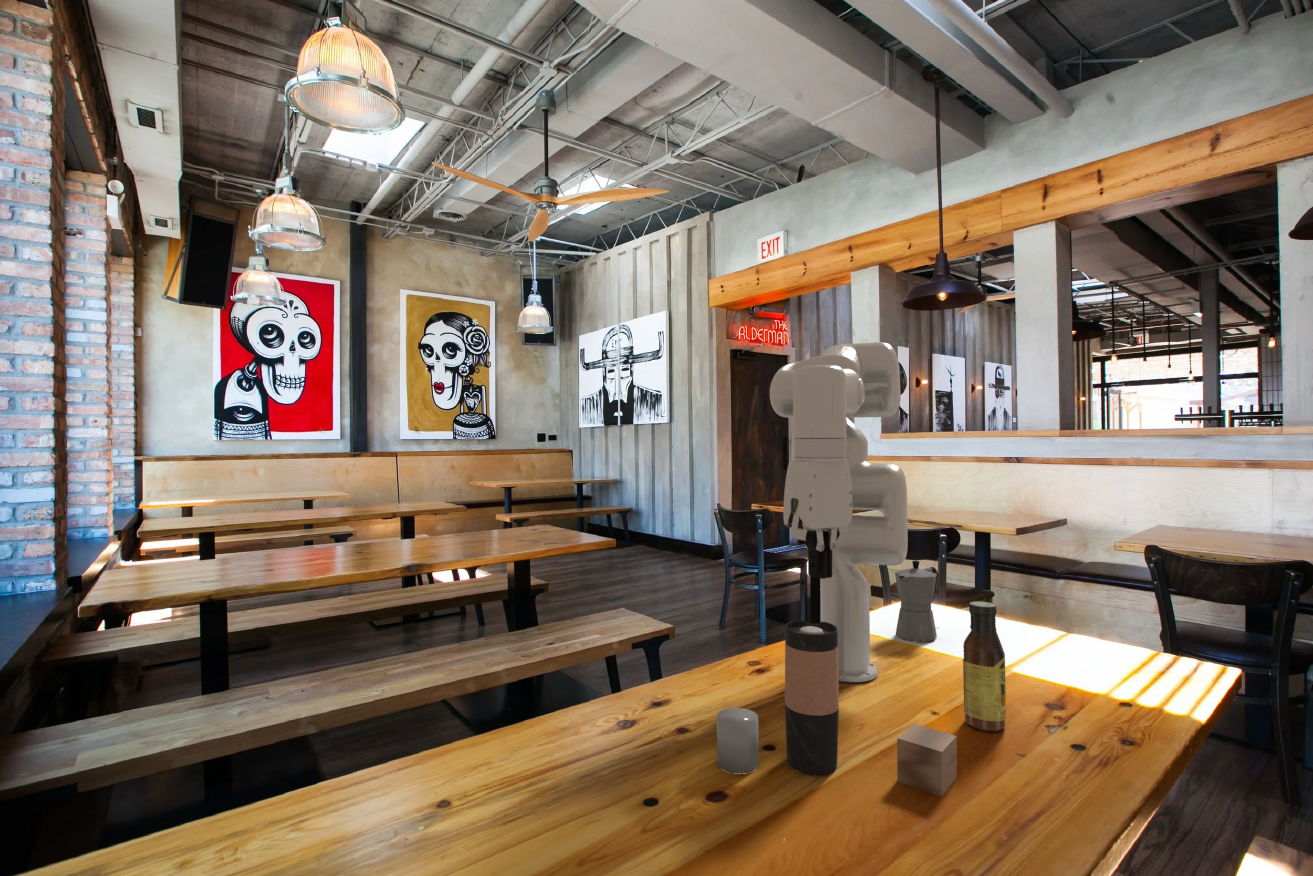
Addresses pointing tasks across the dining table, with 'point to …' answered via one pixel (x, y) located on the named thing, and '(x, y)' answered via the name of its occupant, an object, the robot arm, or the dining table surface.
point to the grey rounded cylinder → (737, 740)
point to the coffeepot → (916, 603)
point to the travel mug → (811, 697)
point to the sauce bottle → (984, 671)
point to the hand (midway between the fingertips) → (820, 576)
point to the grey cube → (927, 759)
